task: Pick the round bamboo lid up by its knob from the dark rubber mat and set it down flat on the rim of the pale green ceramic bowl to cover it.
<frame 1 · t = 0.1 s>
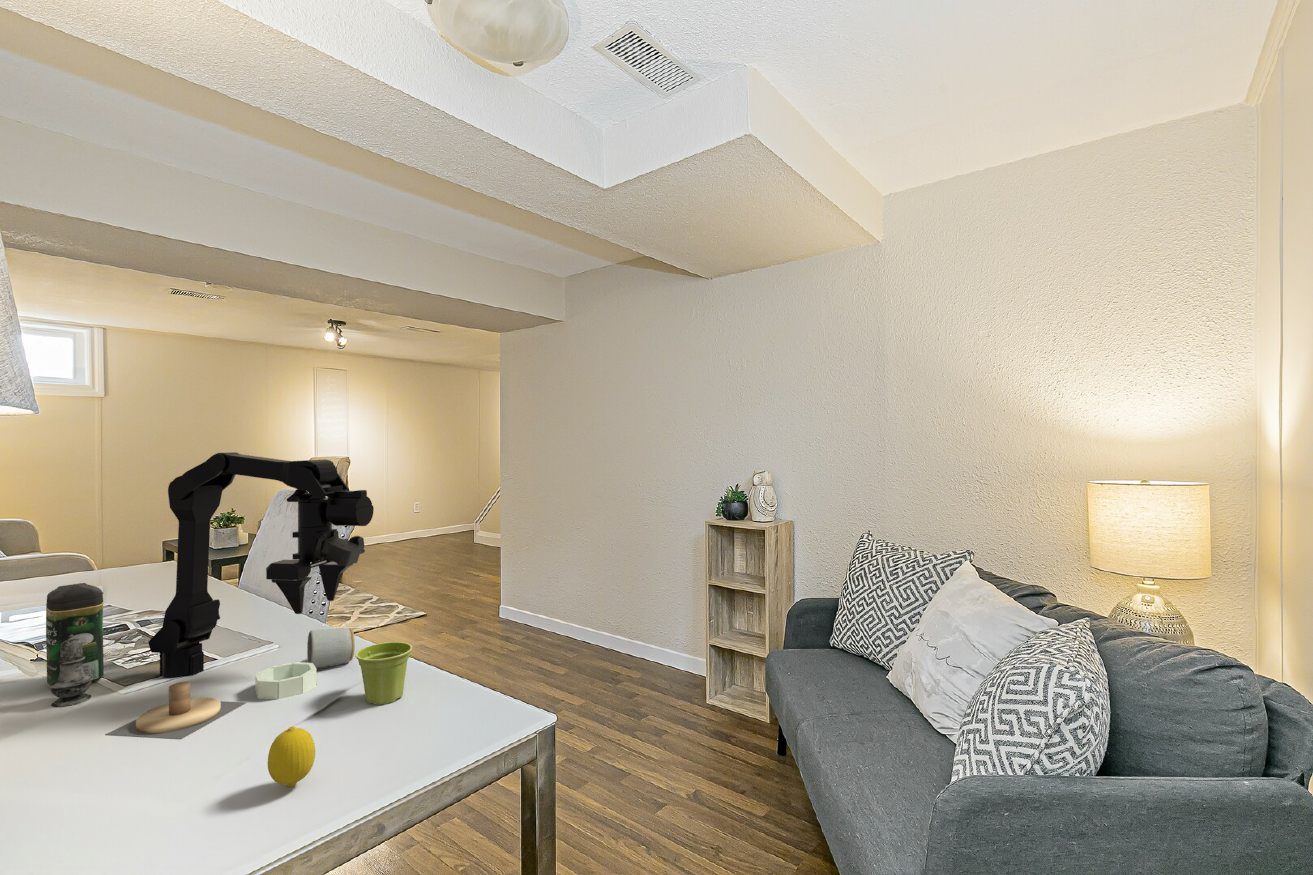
hand: (315, 606, 118), 15 cm above the table, fingers open, 9 cm apart
bowl: (286, 693, 113), on the table
coffee jar: (75, 682, 119), on the table
lemon: (291, 787, 83), on the table
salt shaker: (71, 702, 110), on the table
plant pot: (384, 699, 111), on the table
lid: (179, 717, 101), point 1 cm above the table, touching mat
mat: (179, 723, 101), on the table
ceramic mug: (328, 664, 128), on the table
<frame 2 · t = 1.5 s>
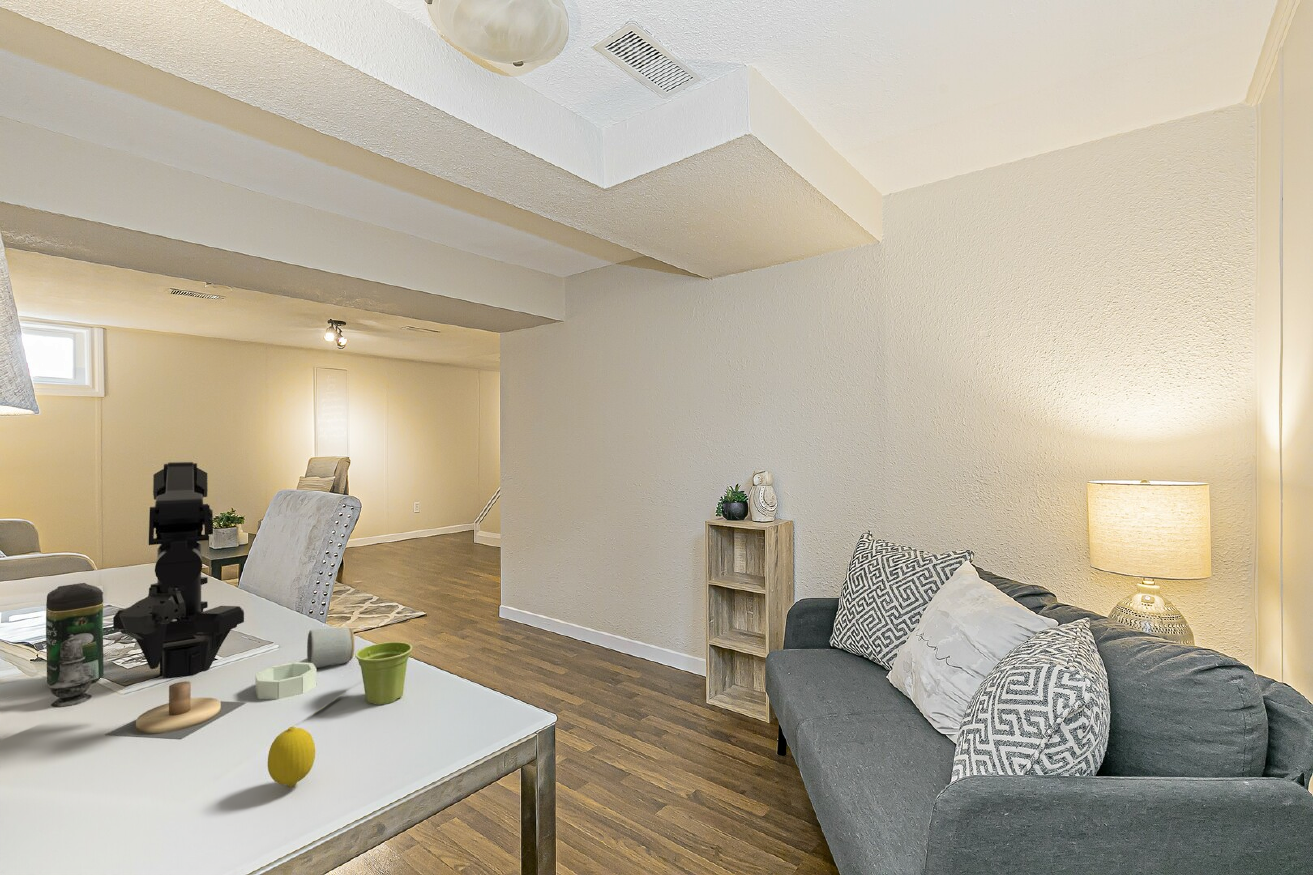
hand: (179, 669, 101), 9 cm above the table, fingers open, 9 cm apart
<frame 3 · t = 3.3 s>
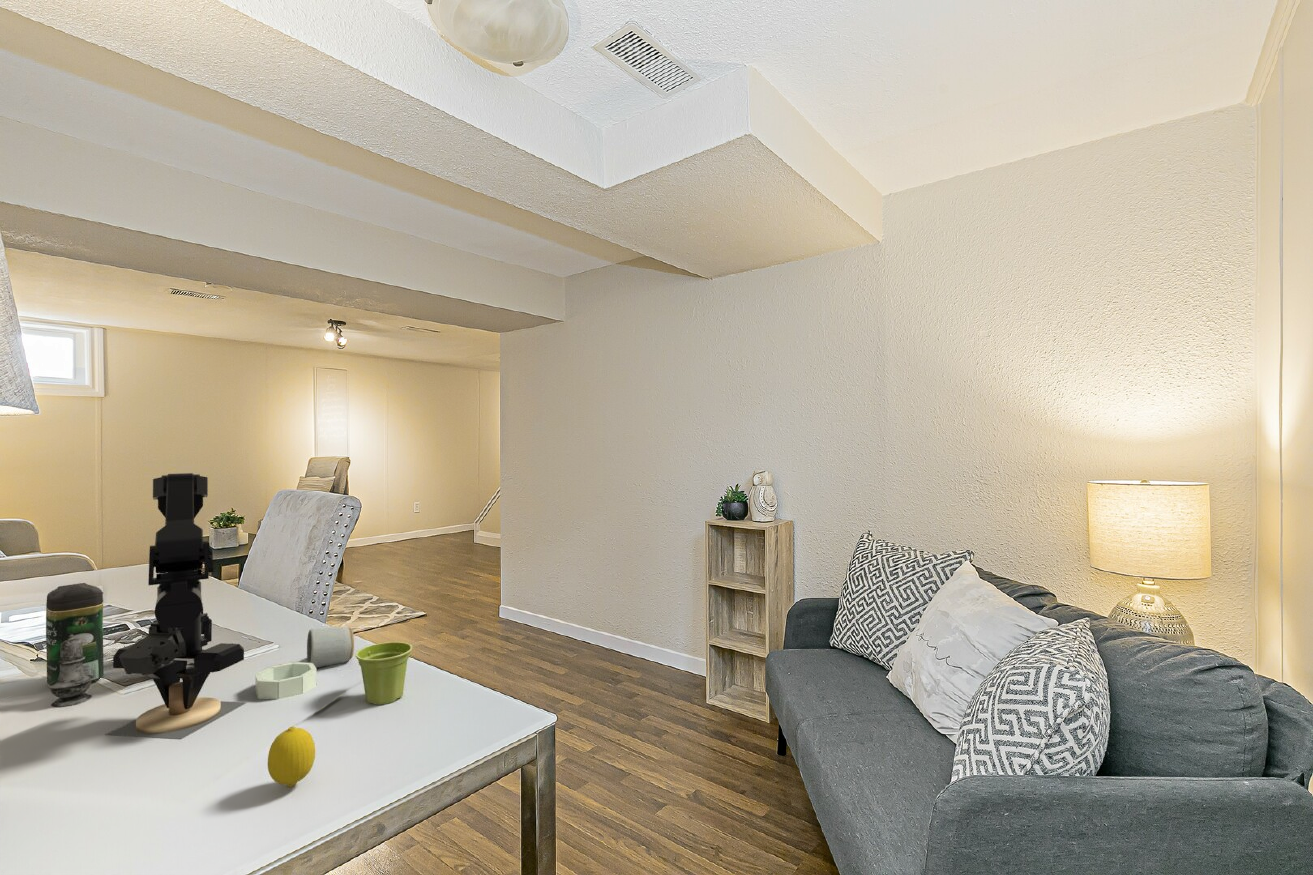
hand: (179, 707, 101), 3 cm above the table, fingers closed on lid, 3 cm apart
lid: (179, 717, 101), point 1 cm above the table, touching gripper, mat
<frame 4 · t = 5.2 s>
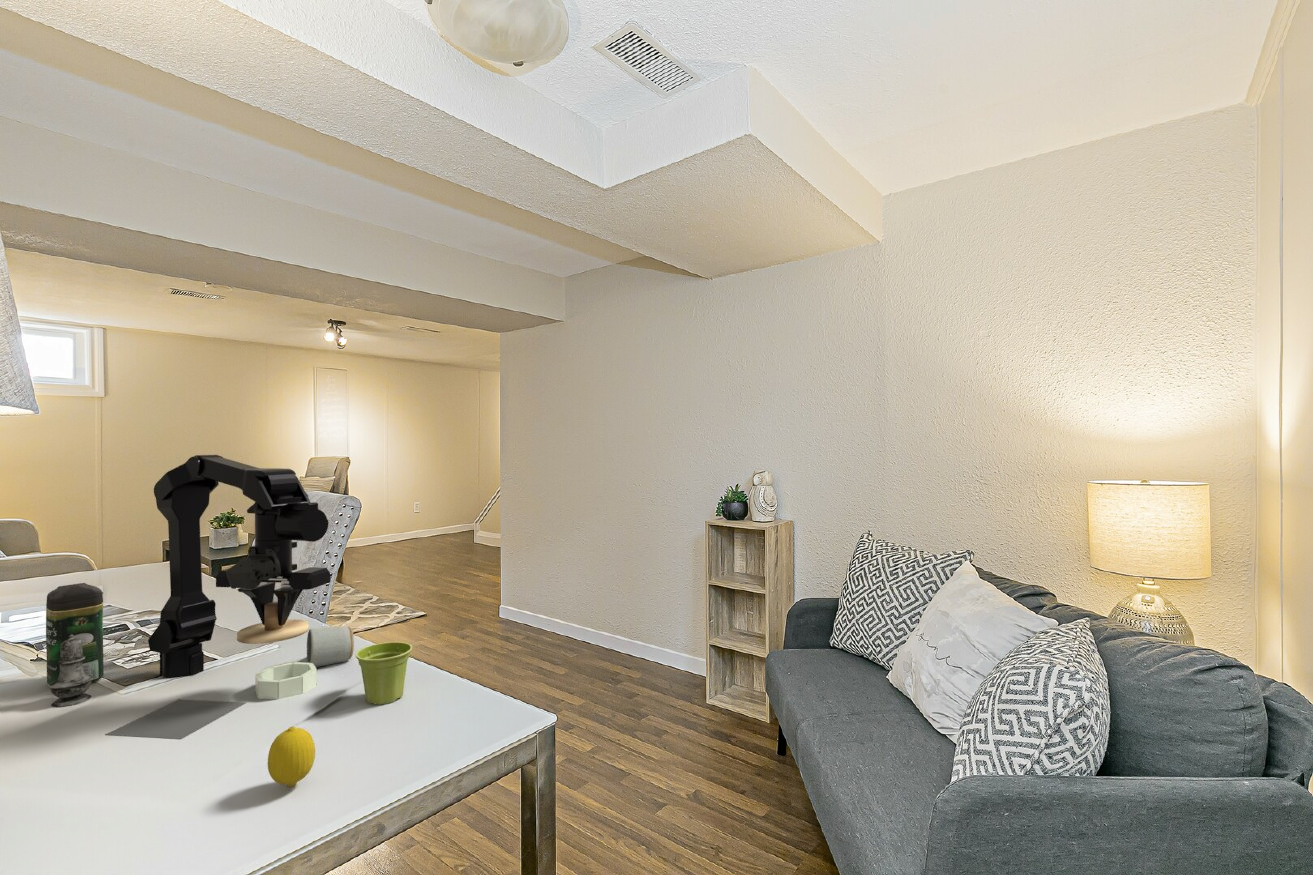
hand: (274, 624, 112), 13 cm above the table, fingers closed on lid, 3 cm apart
lid: (273, 633, 111), point 12 cm above the table, touching gripper
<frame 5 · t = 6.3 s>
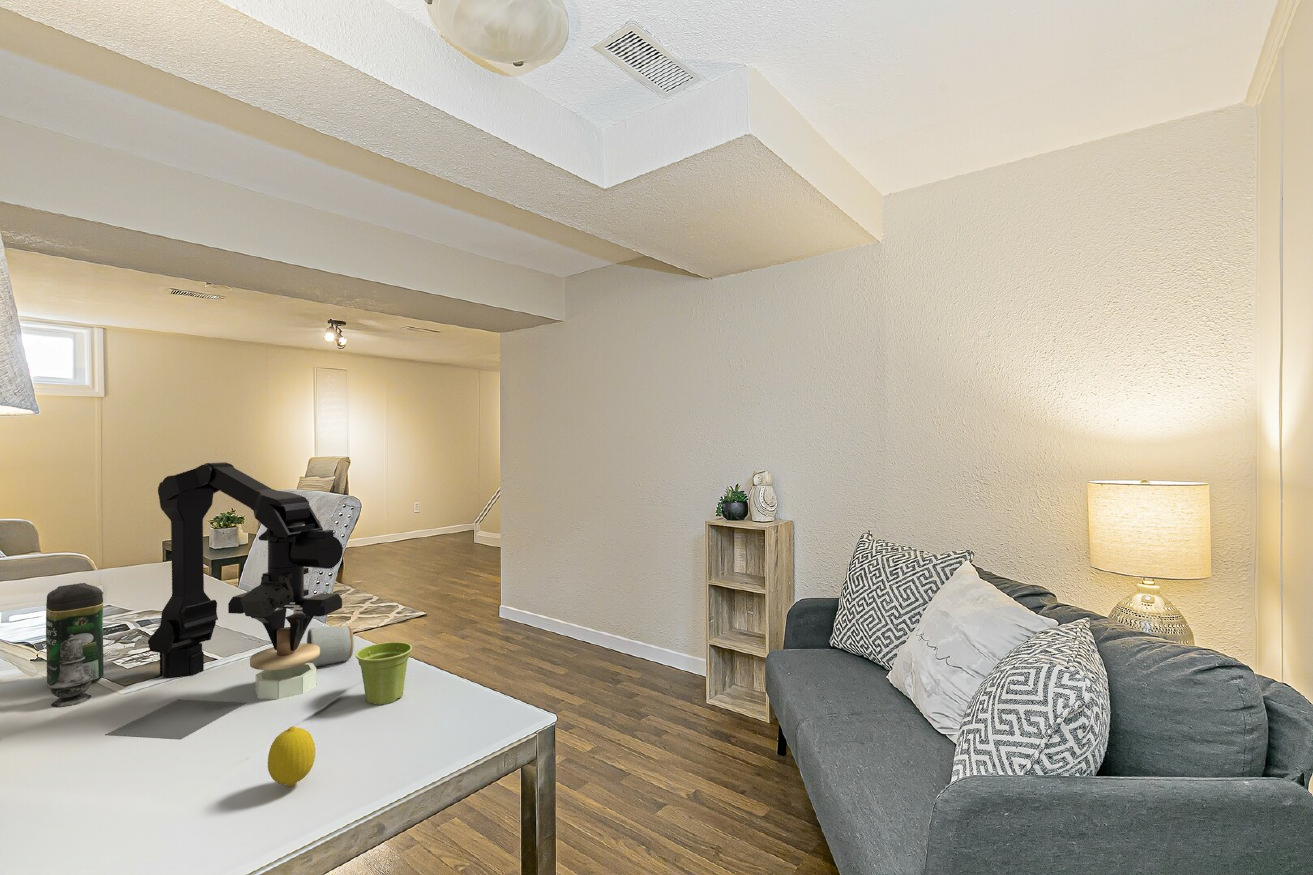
hand: (285, 649, 113), 8 cm above the table, fingers closed on lid, 3 cm apart
lid: (285, 658, 113), point 6 cm above the table, touching gripper
when the fingers open (6 cm above the table, at t = 7.2 s): lid stays where it is, resting on bowl.
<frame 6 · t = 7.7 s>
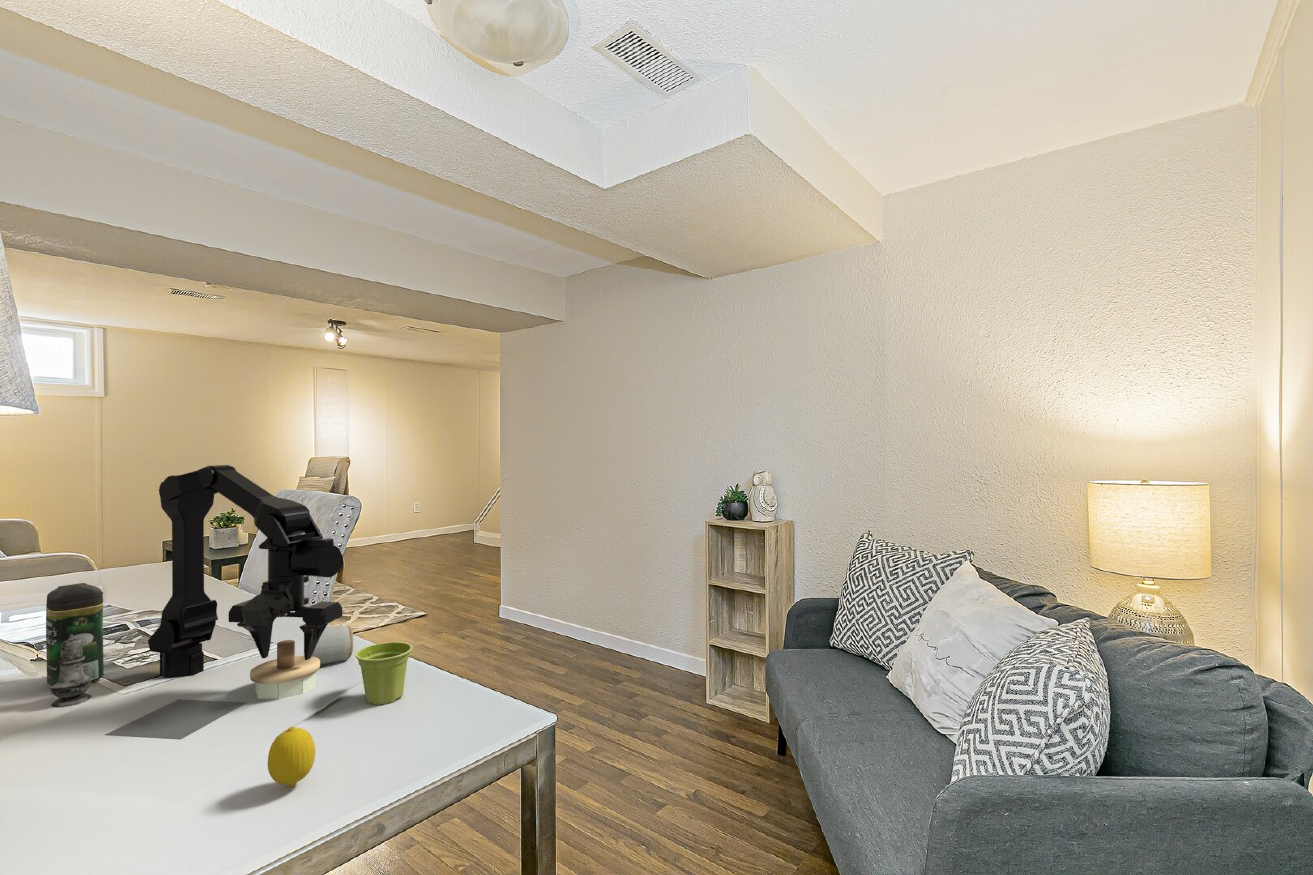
hand: (286, 658, 113), 6 cm above the table, fingers open, 8 cm apart
lid: (285, 671, 113), point 4 cm above the table, touching bowl
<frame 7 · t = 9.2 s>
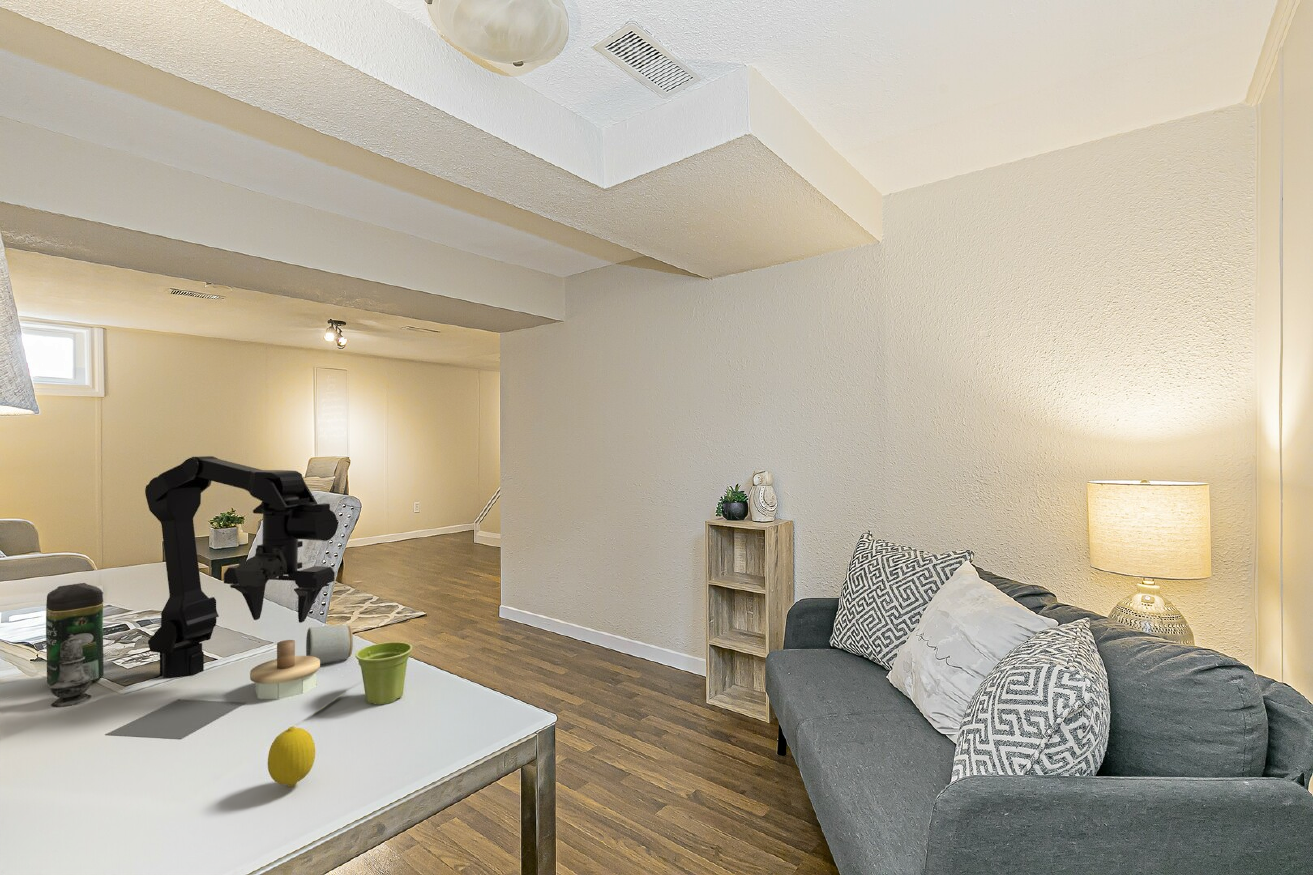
hand: (279, 620, 116), 13 cm above the table, fingers open, 9 cm apart
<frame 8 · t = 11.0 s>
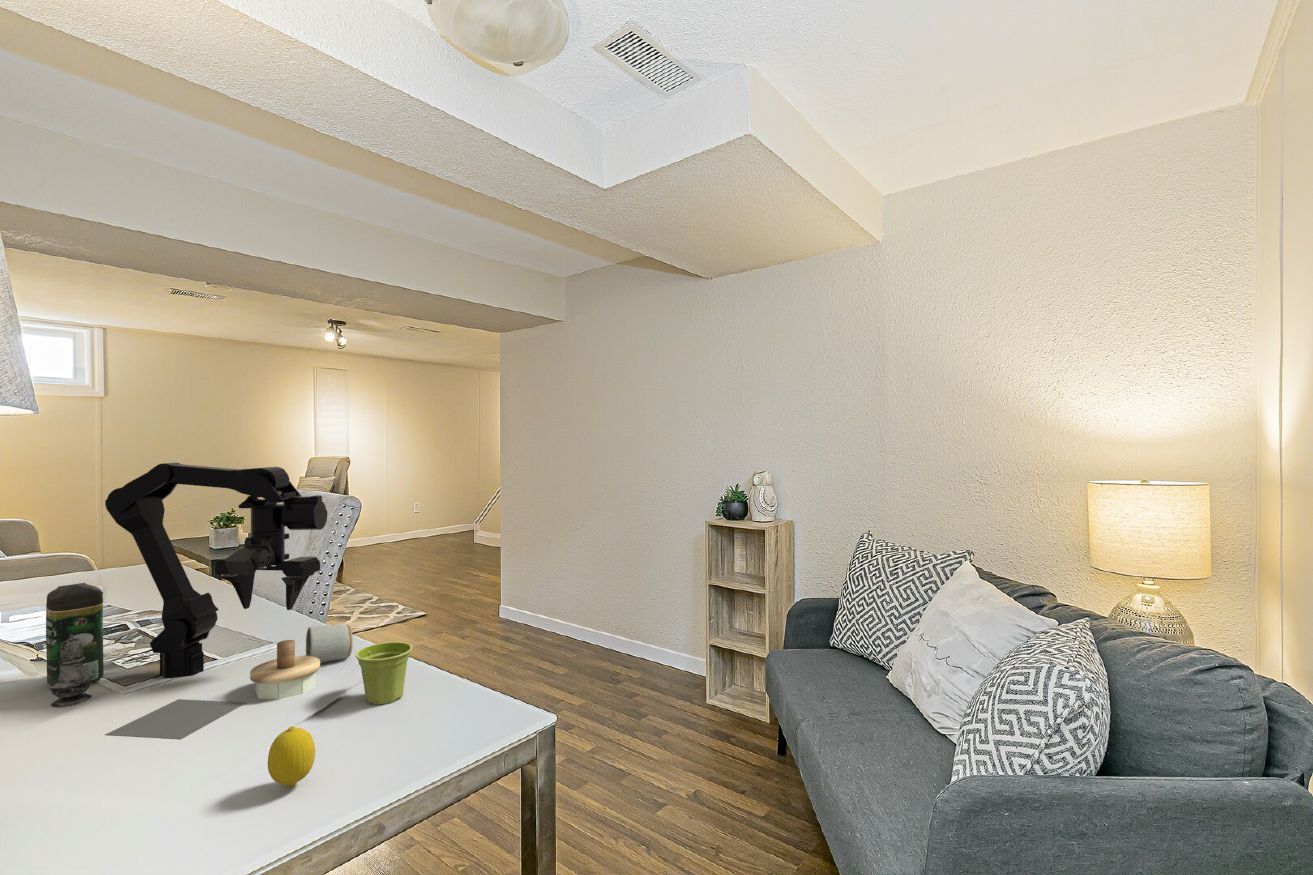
hand: (268, 609, 122), 13 cm above the table, fingers open, 9 cm apart
at the end: lid 0.1 cm off-centre on the bowl, point 4.0 cm above the bowl's base; lid tilted 0°; the gripper is holding nothing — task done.
